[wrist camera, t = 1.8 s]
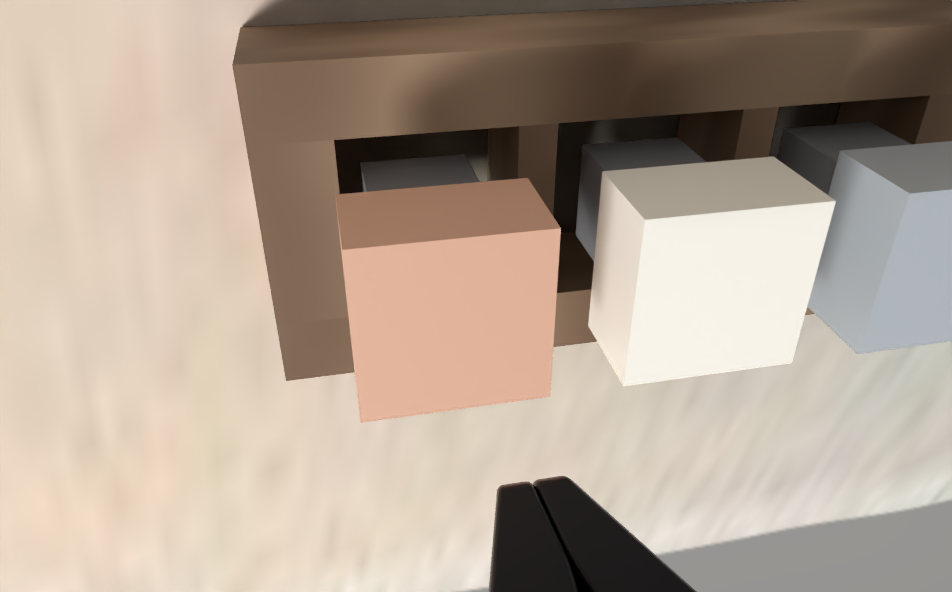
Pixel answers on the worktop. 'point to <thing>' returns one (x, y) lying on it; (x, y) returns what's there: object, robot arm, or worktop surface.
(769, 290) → the key ivory
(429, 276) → the key terracotta
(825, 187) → the key slate
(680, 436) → the worktop surface
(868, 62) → the key panel
